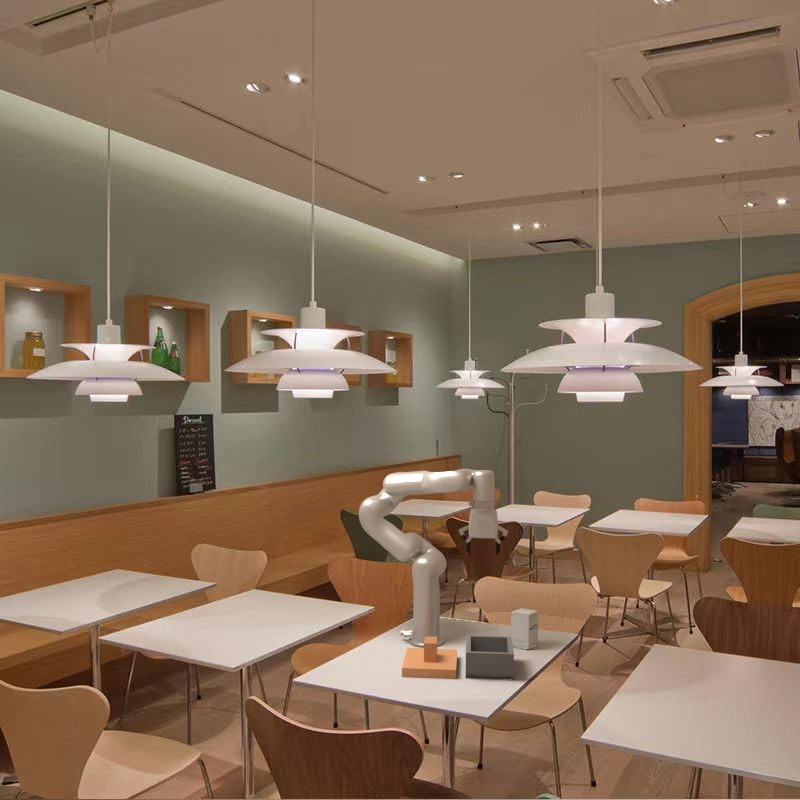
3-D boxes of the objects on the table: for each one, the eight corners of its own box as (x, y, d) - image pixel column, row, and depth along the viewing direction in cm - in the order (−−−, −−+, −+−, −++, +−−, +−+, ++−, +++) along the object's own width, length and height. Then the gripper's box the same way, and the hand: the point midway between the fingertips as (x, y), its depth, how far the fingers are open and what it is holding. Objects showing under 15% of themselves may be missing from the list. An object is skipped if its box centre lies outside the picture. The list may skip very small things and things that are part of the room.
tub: (465, 678, 259) (465, 652, 259) (466, 658, 279) (466, 634, 279) (513, 679, 258) (514, 654, 258) (510, 660, 278) (511, 636, 278)
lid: (401, 676, 260) (402, 648, 260) (407, 655, 282) (407, 630, 282) (455, 678, 259) (456, 650, 259) (457, 657, 281) (457, 631, 281)
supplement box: (528, 650, 289) (529, 614, 289) (510, 646, 294) (510, 611, 294) (538, 645, 295) (538, 610, 295) (520, 642, 300) (520, 607, 300)
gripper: (458, 506, 288) (458, 555, 288) (508, 507, 287) (508, 556, 286) (459, 503, 296) (458, 551, 295) (507, 504, 294) (507, 552, 294)
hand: (483, 554), depth 291 cm, fingers open, 9 cm apart
